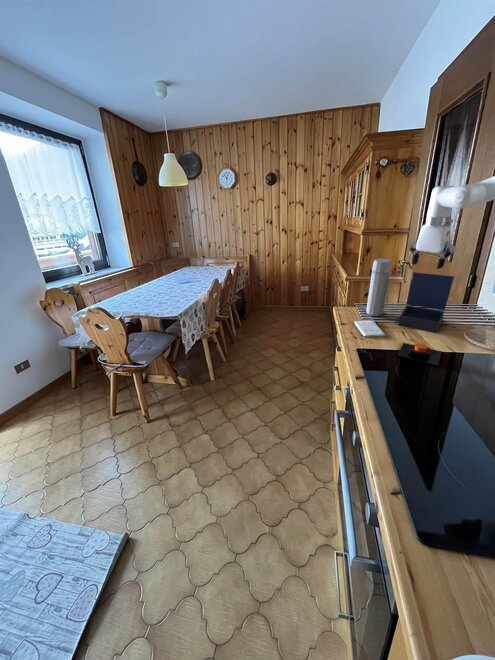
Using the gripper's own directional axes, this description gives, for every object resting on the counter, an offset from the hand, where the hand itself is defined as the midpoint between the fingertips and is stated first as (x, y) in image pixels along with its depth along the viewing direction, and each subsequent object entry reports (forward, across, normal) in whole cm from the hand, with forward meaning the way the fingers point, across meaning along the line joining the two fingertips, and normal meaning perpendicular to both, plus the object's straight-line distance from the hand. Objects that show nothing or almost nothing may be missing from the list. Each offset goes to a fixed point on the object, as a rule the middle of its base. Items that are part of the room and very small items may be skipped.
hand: (426, 266), depth 116 cm
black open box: (+23, -4, +4) cm, 24 cm away
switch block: (+23, -17, +31) cm, 42 cm away
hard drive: (+23, +6, +26) cm, 35 cm away
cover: (+11, -2, -2) cm, 11 cm away
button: (+20, -17, +31) cm, 41 cm away
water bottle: (+23, +13, +10) cm, 28 cm away
